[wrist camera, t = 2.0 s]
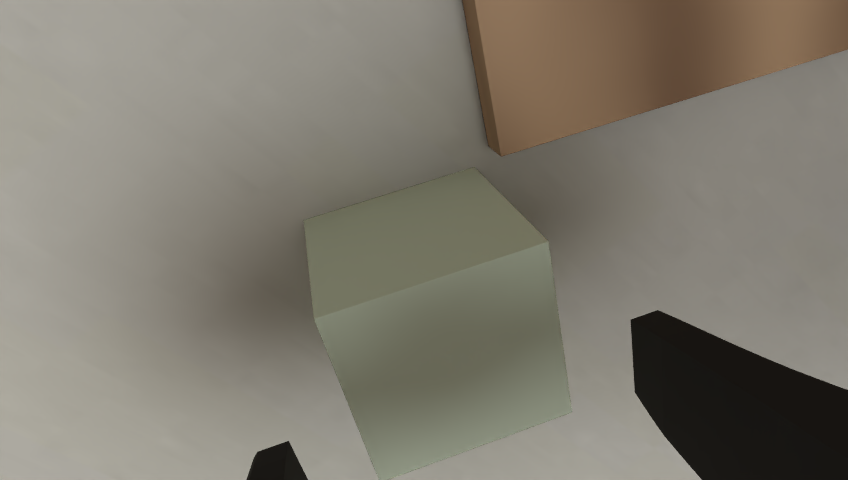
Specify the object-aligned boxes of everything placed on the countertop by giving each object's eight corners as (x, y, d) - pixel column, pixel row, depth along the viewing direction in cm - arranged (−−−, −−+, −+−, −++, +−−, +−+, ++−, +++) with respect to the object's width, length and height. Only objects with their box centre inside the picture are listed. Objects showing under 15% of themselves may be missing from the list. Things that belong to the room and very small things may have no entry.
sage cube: (473, 166, 16) (548, 241, 11) (501, 305, 18) (571, 412, 14) (303, 218, 15) (313, 319, 11) (354, 355, 18) (380, 482, 13)
